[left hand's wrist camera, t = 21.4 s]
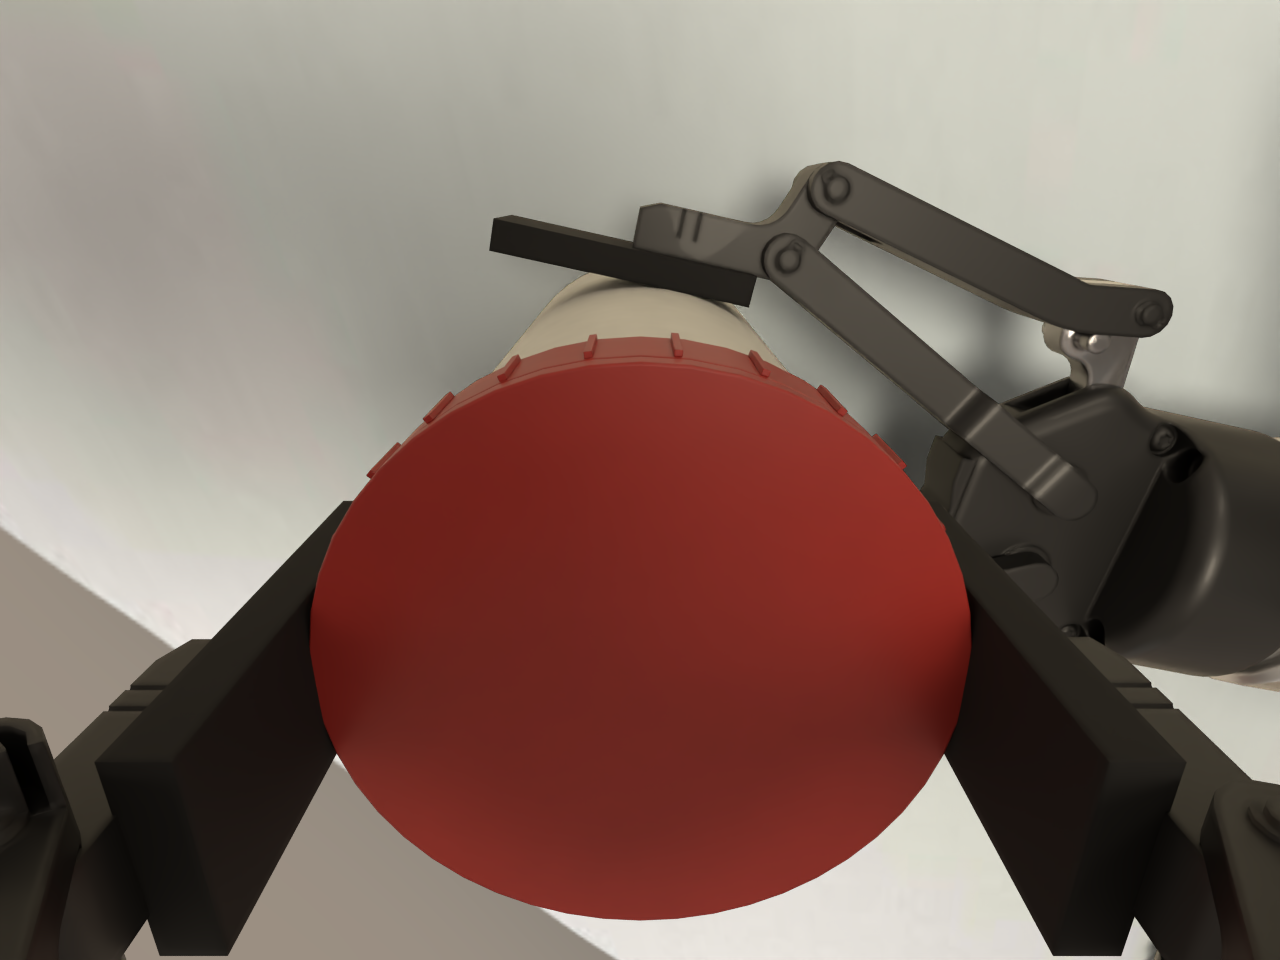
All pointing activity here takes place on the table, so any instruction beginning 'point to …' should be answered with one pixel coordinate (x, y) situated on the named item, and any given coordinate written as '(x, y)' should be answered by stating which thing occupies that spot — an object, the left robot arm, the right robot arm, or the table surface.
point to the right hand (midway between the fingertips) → (478, 403)
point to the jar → (635, 318)
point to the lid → (640, 631)
